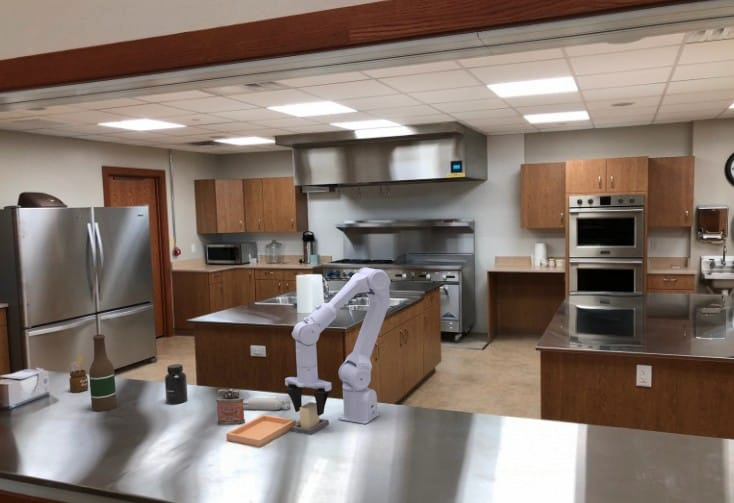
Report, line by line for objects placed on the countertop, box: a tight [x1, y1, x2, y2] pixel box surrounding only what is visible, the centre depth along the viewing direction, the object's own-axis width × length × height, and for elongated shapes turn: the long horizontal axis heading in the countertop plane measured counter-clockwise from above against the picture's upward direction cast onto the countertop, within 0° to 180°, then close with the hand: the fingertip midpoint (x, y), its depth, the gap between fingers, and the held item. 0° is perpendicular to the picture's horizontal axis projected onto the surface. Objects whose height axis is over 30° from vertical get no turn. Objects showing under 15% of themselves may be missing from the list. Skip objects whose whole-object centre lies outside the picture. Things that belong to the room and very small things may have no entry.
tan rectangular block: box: [299, 401, 321, 429], centre depth 166 cm, size 3×5×6 cm, turn 150°
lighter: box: [215, 388, 246, 426], centre depth 173 cm, size 8×3×10 cm, turn 84°
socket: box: [291, 418, 329, 436], centre depth 166 cm, size 7×9×1 cm
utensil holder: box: [68, 355, 89, 394], centre depth 212 cm, size 6×6×12 cm
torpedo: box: [243, 396, 291, 411], centre depth 184 cm, size 18×5×6 cm, turn 80°
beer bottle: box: [88, 333, 117, 412], centre depth 191 cm, size 8×8×24 cm
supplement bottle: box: [164, 363, 188, 405], centre depth 195 cm, size 7×7×12 cm
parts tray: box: [225, 414, 297, 448], centre depth 164 cm, size 12×16×2 cm
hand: (309, 412), depth 166 cm, fingers open, 7 cm apart
